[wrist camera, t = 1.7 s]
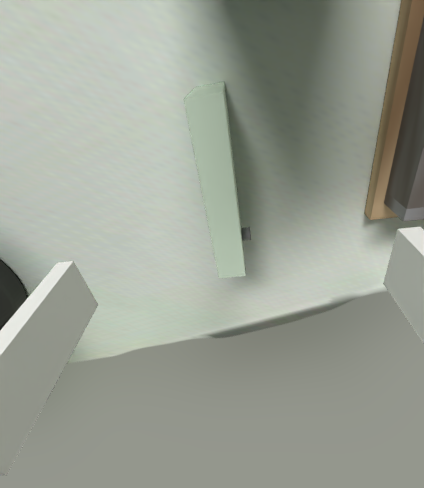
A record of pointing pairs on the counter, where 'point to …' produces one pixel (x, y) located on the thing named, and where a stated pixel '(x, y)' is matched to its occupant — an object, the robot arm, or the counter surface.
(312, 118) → the counter surface
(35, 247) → the counter surface
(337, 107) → the counter surface
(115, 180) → the counter surface
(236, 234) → the pale green rectangular block
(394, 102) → the wooden stand with tray
